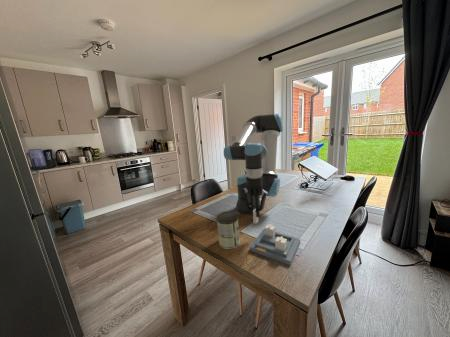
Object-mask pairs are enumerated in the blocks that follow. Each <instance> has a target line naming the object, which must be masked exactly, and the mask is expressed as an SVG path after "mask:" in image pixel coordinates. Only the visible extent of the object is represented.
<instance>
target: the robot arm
mask: <svg viewBox="0 0 450 337" xmlns="http://www.w3.org/2000/svg"><path fill="white" fill-rule="evenodd" d="M282 120H283V119H282V116H281V114H280V113H270V114H261V115H260V114H259V115H255V116H253V117H251V118H249V119H248V120H247V121H246V122H244V124H243V125H242V130H241V131H240V133H238V135H237V137H236V139H235V140H234V141H233V143H232V144H231V145H226V146H224V148H223V157H224V159H225V160H229V161H244V162H245V174H242V175H240V176H238V177H237V180H236V186H237V188H236V189H237V197H238V198H237V200H236V201H237V202H236V206H235V209H236V211H237V212H238V213H241V214H245V215H246V214H247V215H248V214H251V217H252V221H253V224H255V225H256V224H258V223H259V217H260V216H261V213H260V212H262V211H263V210H264V208H265V203H266V199H267V197H272V198H273V197H277V196H278V194H279V192H280V186H281V179H280V177H279V175H278V174H277V173H276V169H277V168H276V167H277V153H278V152H277V150H278V149H277V148H278V137H279V136H280V135H281V133H282V132H283V130H284V128H283V127H284V126H283V121H282ZM256 134H261V135H262V136H263V144H262V143H259V142H250V141H251V140H252V137H253V136H254V135H256ZM260 198H261V199H260Z"/></svg>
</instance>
